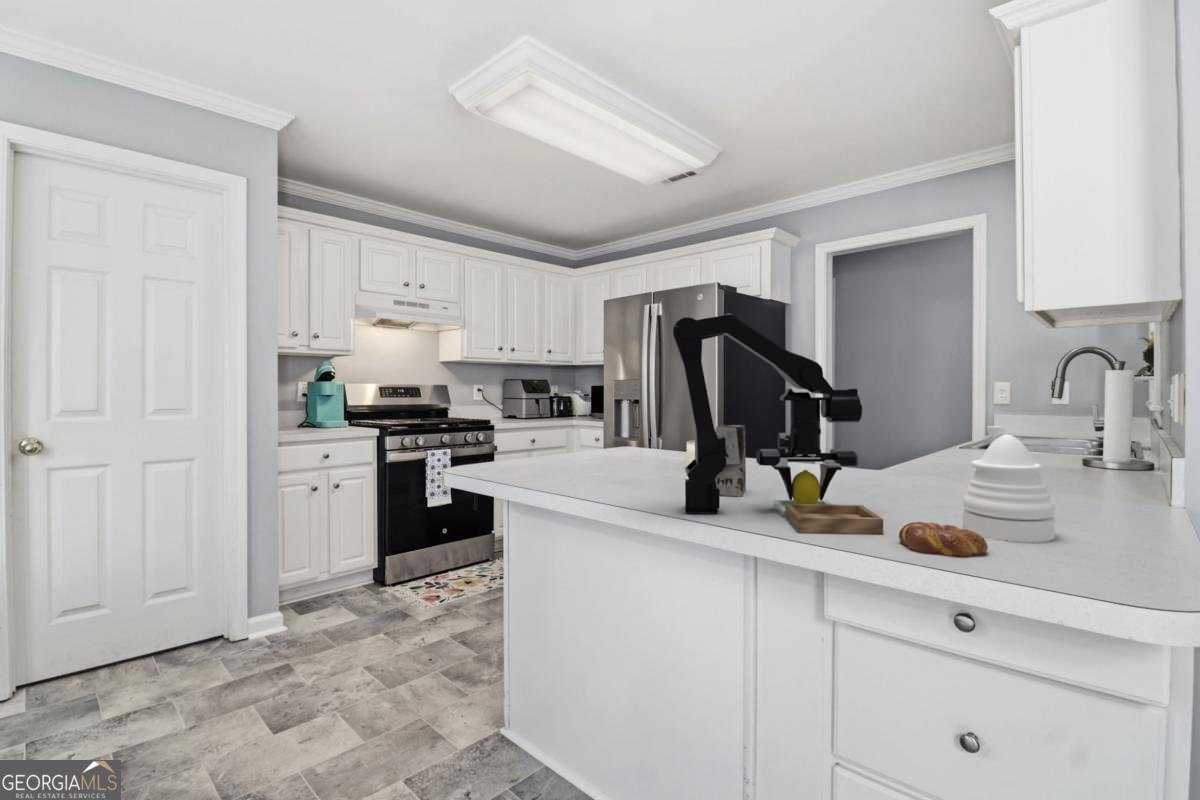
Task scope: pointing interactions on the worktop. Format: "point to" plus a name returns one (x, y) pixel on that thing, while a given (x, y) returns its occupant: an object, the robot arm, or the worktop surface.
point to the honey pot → (1008, 494)
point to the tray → (833, 519)
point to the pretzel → (942, 539)
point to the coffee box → (733, 461)
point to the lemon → (805, 488)
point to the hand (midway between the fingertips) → (805, 499)
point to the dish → (781, 504)
